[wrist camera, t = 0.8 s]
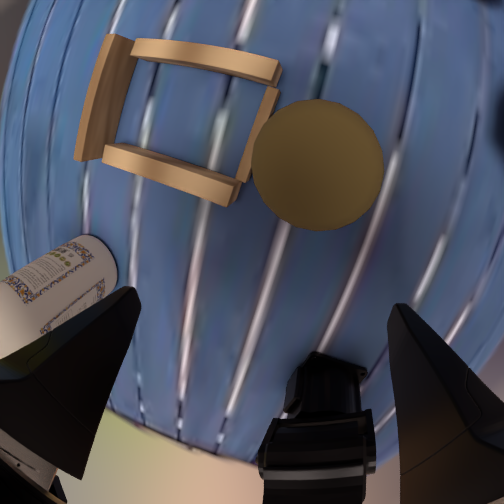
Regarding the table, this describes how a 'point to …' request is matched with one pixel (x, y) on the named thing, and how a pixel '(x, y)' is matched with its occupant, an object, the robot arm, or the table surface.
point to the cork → (317, 165)
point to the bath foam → (53, 290)
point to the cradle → (148, 162)
